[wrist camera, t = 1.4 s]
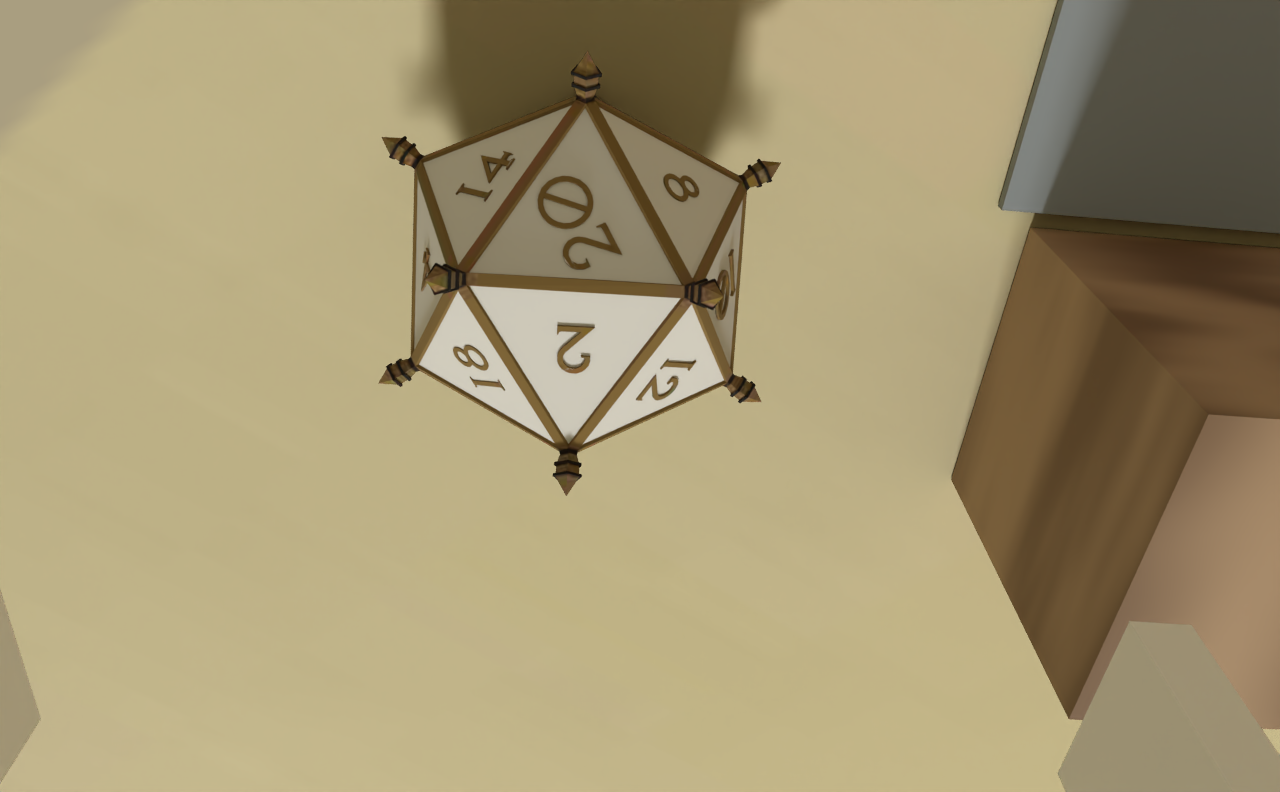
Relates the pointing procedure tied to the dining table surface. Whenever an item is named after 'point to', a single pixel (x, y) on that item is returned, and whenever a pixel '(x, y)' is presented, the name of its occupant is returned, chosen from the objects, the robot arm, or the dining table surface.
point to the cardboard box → (1135, 454)
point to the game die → (575, 271)
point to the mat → (1155, 115)
